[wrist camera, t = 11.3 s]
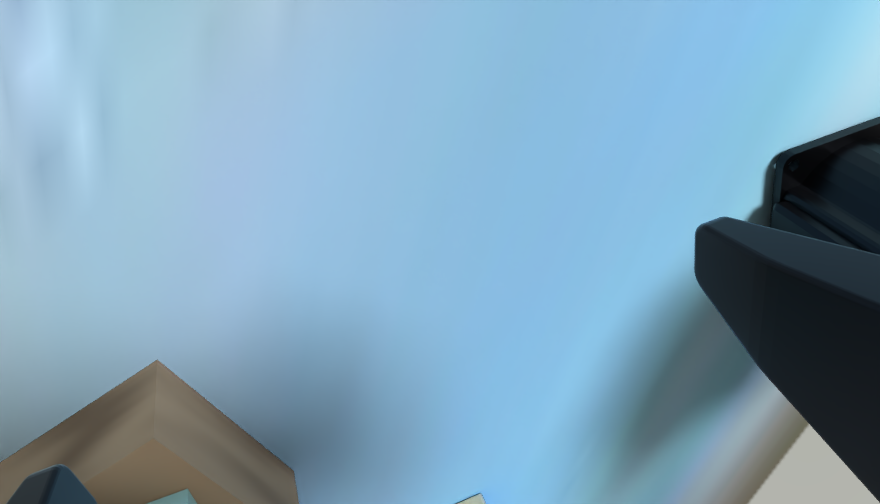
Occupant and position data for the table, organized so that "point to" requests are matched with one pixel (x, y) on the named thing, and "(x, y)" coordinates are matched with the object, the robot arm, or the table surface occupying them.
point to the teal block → (176, 498)
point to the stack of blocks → (474, 500)
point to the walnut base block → (155, 449)
